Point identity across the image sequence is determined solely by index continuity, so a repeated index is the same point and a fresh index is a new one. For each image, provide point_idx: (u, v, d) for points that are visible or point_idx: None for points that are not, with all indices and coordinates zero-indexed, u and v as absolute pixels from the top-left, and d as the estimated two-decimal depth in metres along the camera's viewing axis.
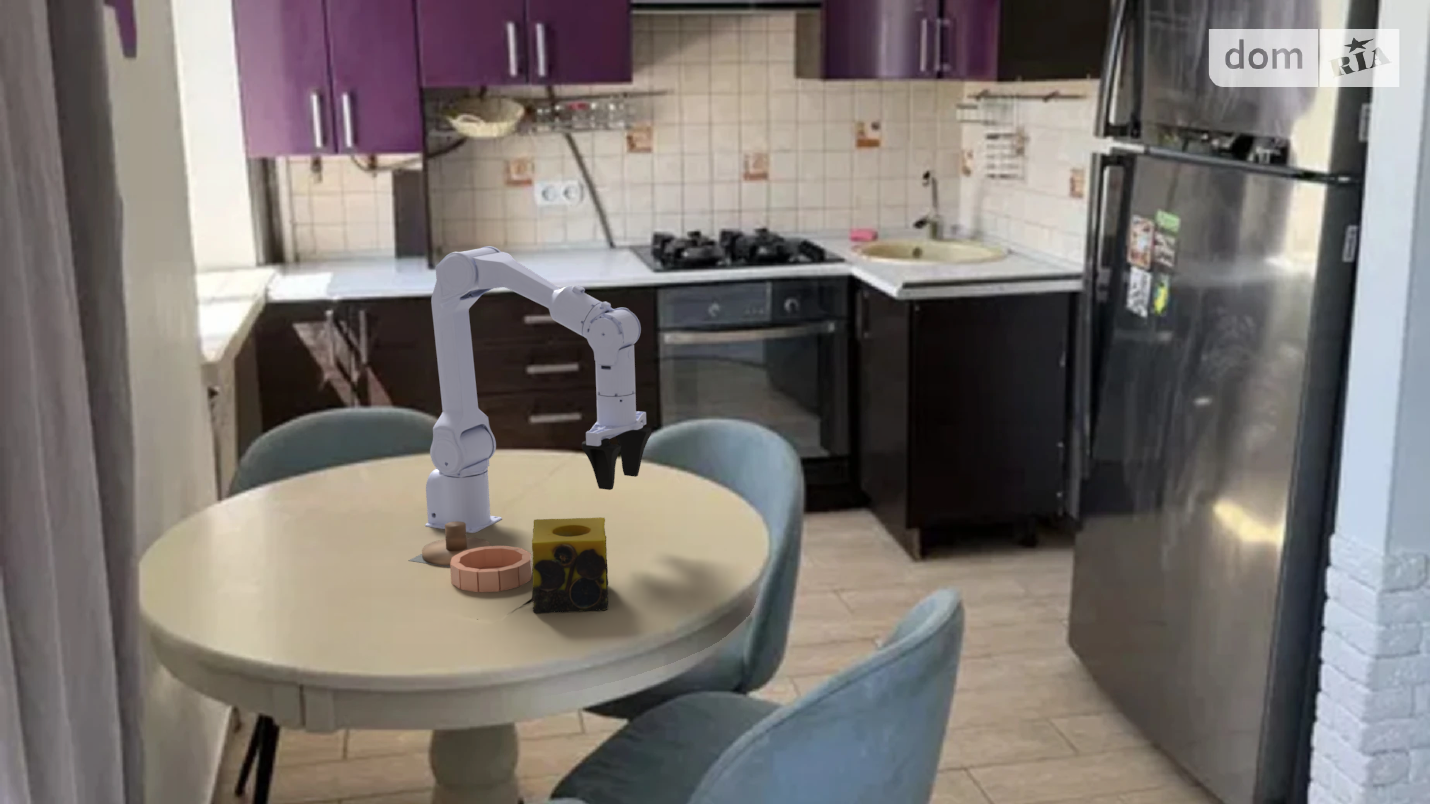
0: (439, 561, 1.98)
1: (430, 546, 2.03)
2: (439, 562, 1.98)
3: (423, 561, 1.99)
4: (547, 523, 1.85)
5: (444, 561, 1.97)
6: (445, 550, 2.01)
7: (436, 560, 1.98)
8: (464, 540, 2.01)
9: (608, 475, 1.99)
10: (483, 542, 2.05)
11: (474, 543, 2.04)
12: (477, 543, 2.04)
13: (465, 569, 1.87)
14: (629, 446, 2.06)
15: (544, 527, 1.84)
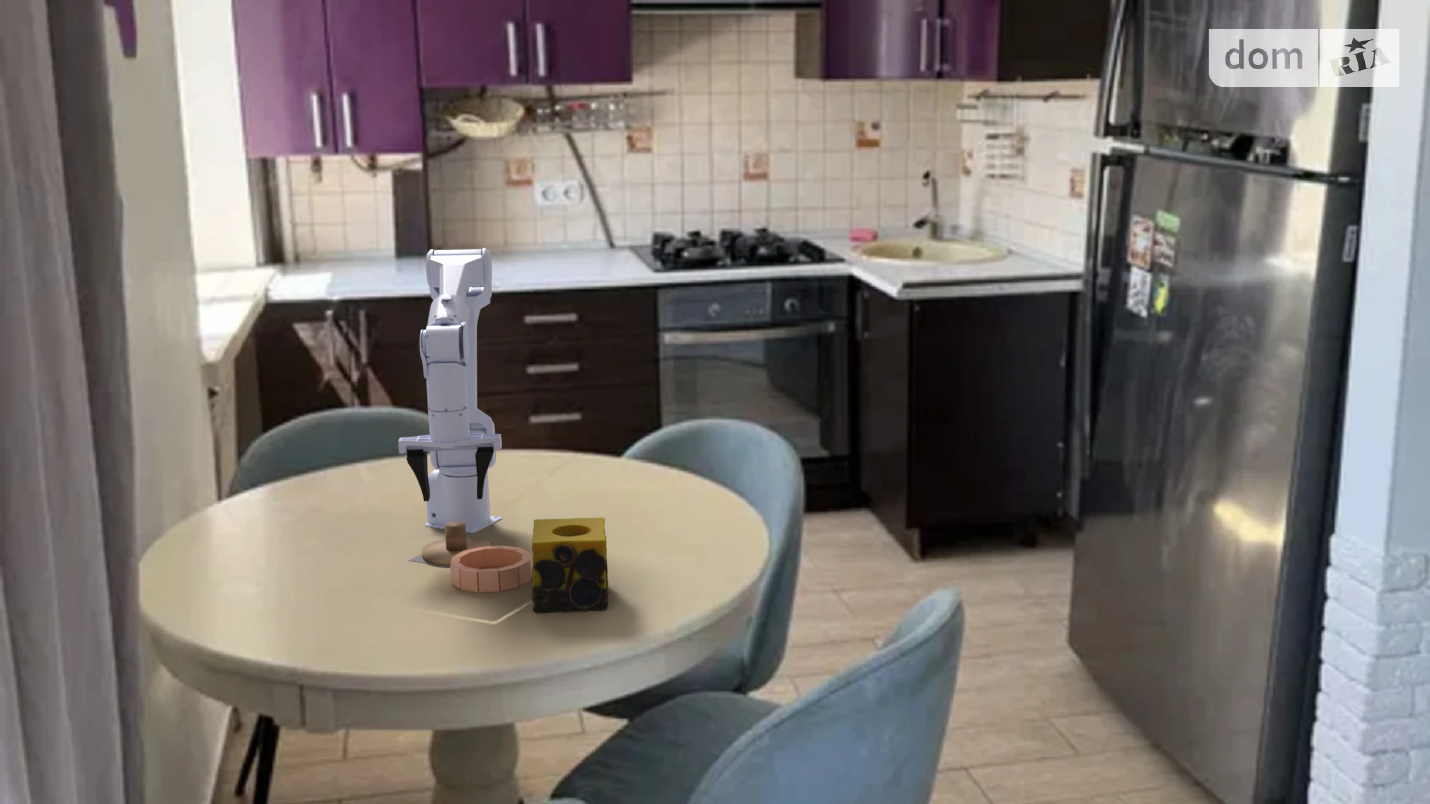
0: (439, 561, 1.98)
1: (430, 546, 2.03)
2: (439, 562, 1.98)
3: (423, 561, 1.99)
4: (547, 523, 1.85)
5: (444, 561, 1.97)
6: (445, 550, 2.01)
7: (436, 560, 1.98)
8: (464, 540, 2.01)
9: None
10: (483, 542, 2.05)
11: (474, 543, 2.04)
12: (477, 543, 2.04)
13: (465, 569, 1.87)
14: None
15: (544, 527, 1.84)
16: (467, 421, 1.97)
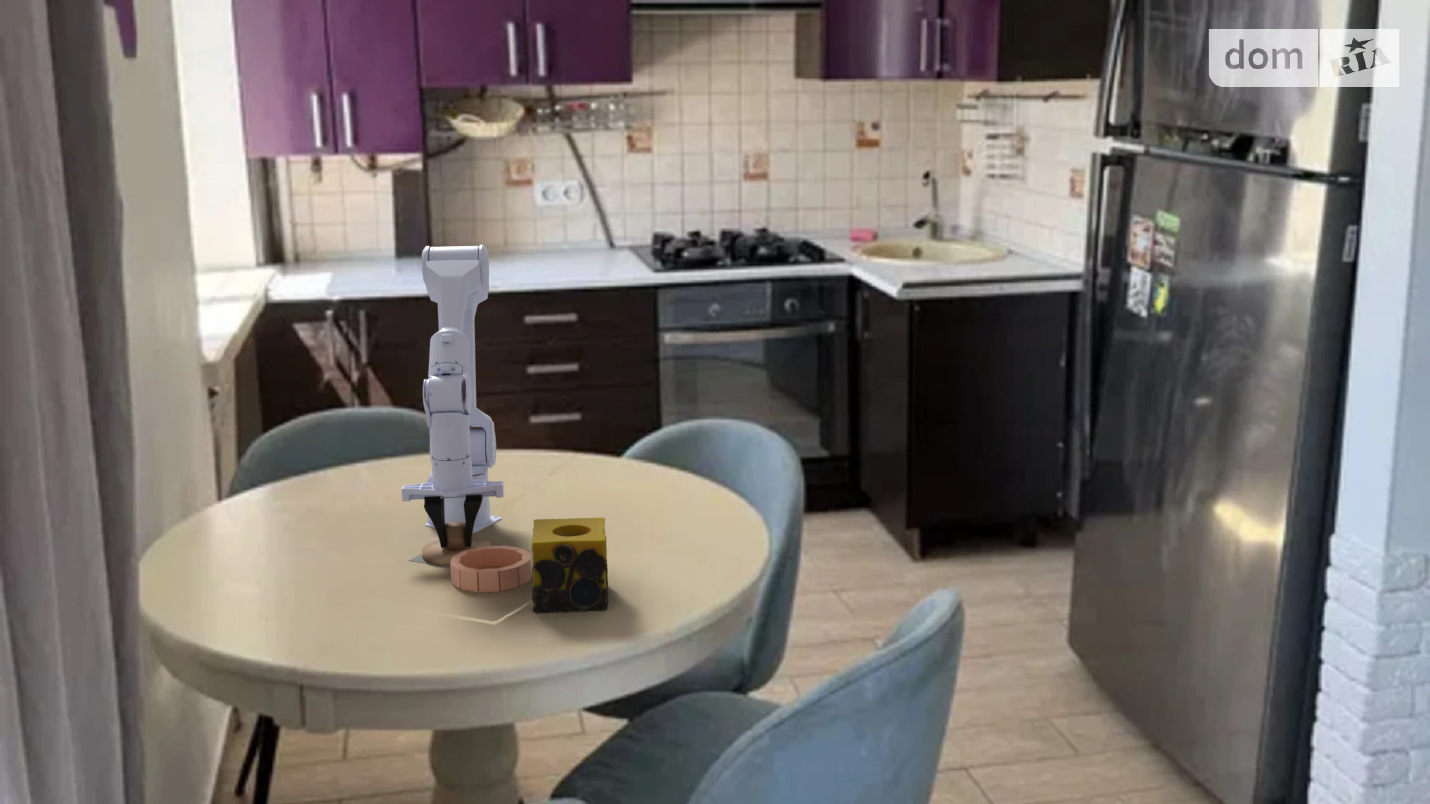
0: (439, 561, 1.98)
1: (430, 546, 2.03)
2: (439, 562, 1.98)
3: (423, 561, 1.99)
4: (547, 523, 1.85)
5: (444, 561, 1.97)
6: (445, 550, 2.01)
7: (436, 560, 1.98)
8: (464, 540, 2.01)
9: None
10: (483, 541, 2.05)
11: (474, 543, 2.04)
12: (477, 543, 2.04)
13: (465, 569, 1.87)
14: None
15: (544, 527, 1.84)
16: (470, 469, 1.99)
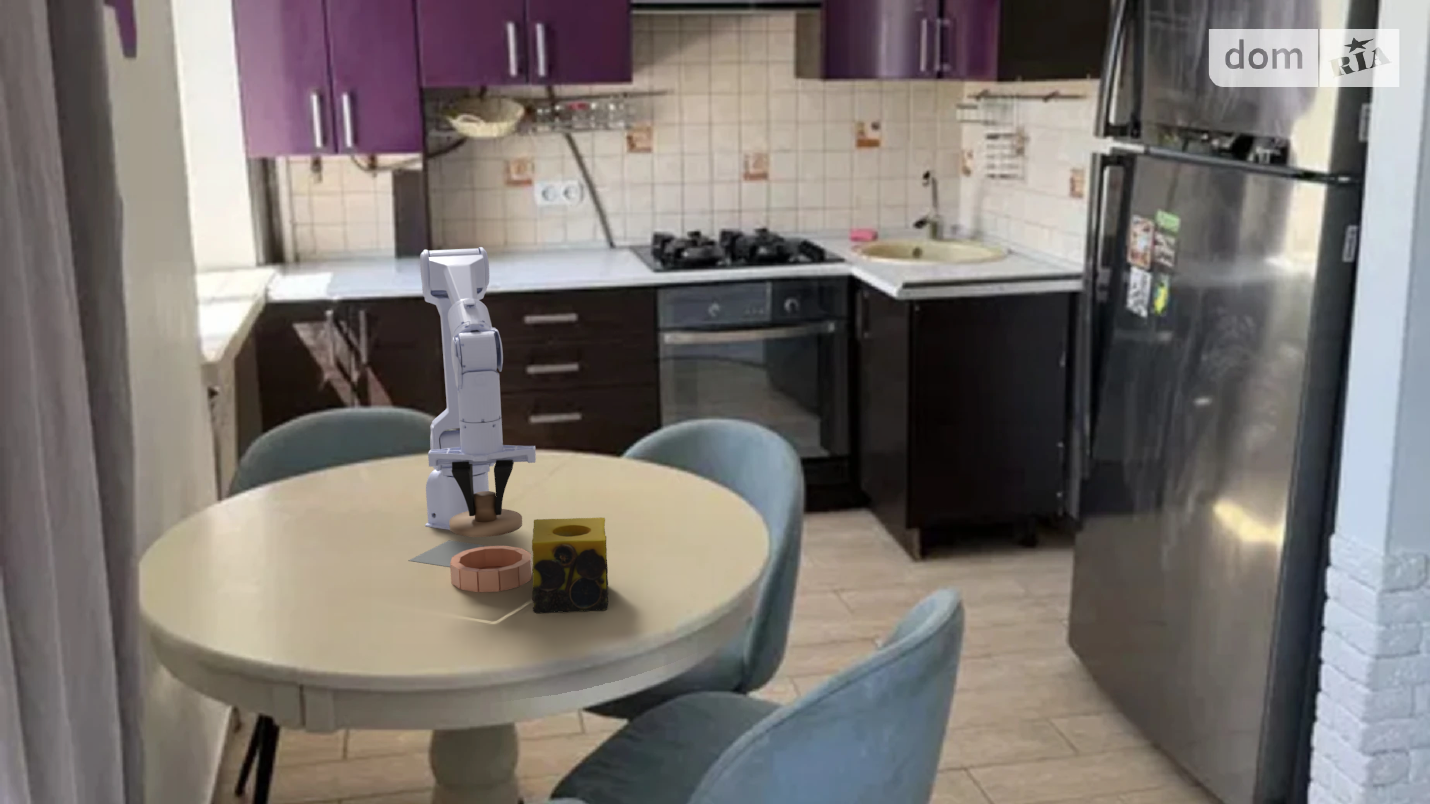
0: (470, 532, 1.87)
1: (457, 517, 1.92)
2: (470, 533, 1.87)
3: (423, 561, 1.99)
4: (547, 523, 1.85)
5: (475, 532, 1.86)
6: (474, 521, 1.90)
7: (466, 531, 1.87)
8: (494, 510, 1.90)
9: None
10: (512, 512, 1.94)
11: (504, 514, 1.93)
12: (507, 514, 1.93)
13: (465, 569, 1.87)
14: None
15: (544, 527, 1.84)
16: (500, 432, 1.88)
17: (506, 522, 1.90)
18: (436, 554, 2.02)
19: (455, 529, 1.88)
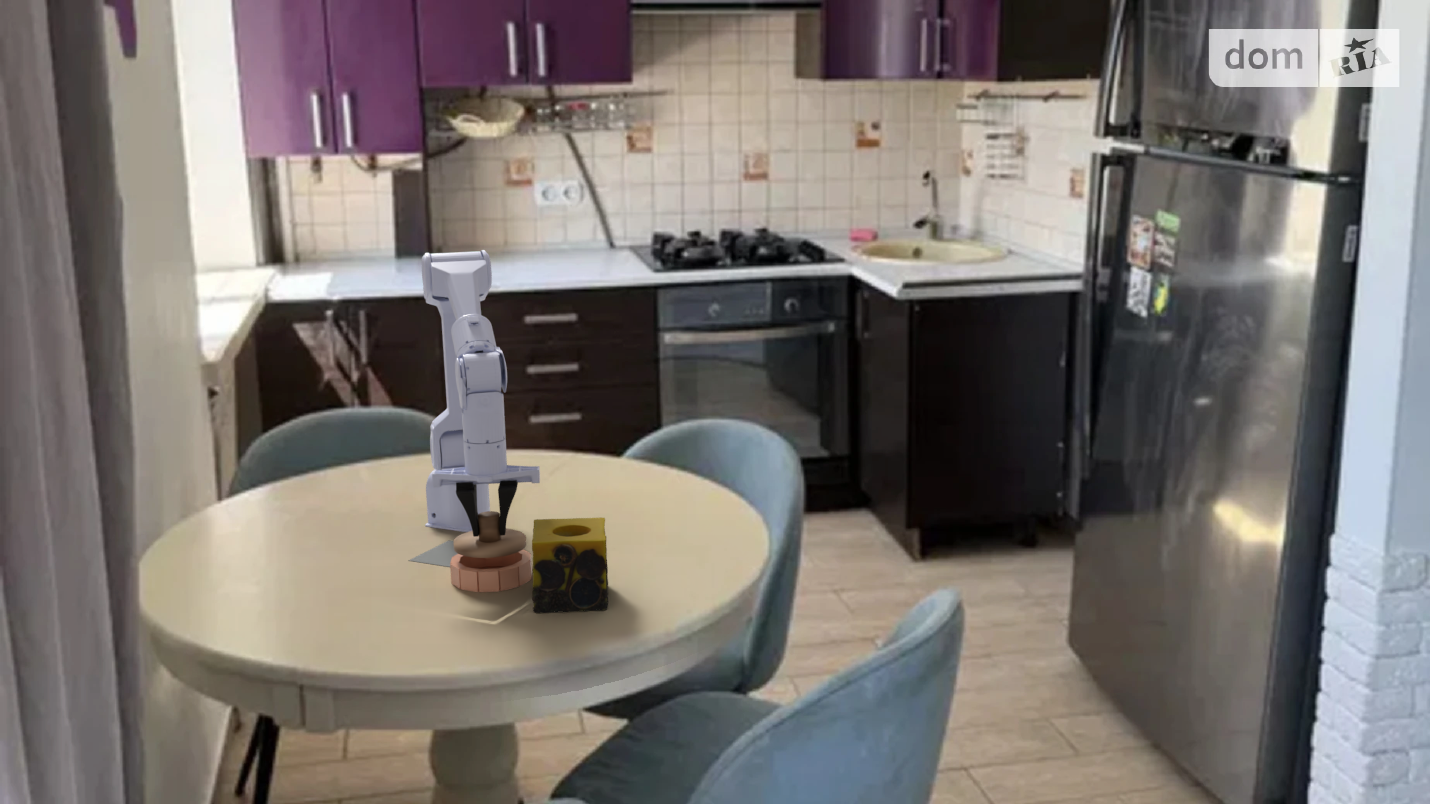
0: (474, 553, 1.86)
1: (461, 537, 1.92)
2: (474, 554, 1.87)
3: (423, 561, 1.99)
4: (547, 523, 1.85)
5: (480, 553, 1.86)
6: (478, 542, 1.90)
7: (470, 552, 1.87)
8: (498, 531, 1.90)
9: None
10: (516, 532, 1.94)
11: (508, 534, 1.93)
12: (511, 534, 1.93)
13: (465, 569, 1.87)
14: None
15: (544, 527, 1.84)
16: (504, 453, 1.88)
17: (511, 543, 1.89)
18: (436, 554, 2.02)
19: (459, 550, 1.88)
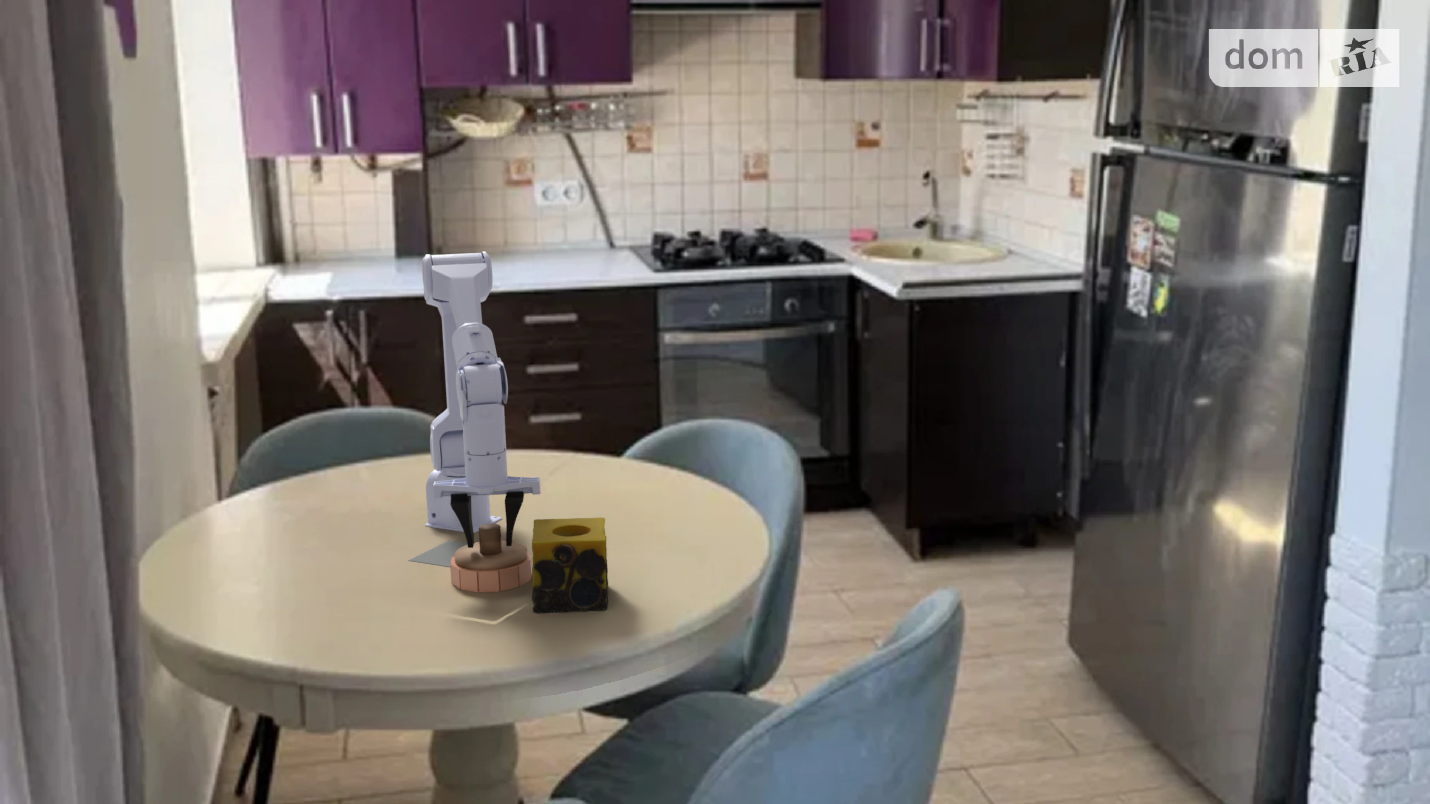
0: (475, 566, 1.87)
1: (462, 550, 1.92)
2: (475, 567, 1.87)
3: (423, 561, 1.99)
4: (547, 523, 1.85)
5: (480, 566, 1.87)
6: (479, 554, 1.90)
7: (471, 565, 1.87)
8: (499, 543, 1.91)
9: None
10: (517, 544, 1.94)
11: (508, 547, 1.93)
12: (511, 546, 1.94)
13: (465, 569, 1.87)
14: None
15: (544, 527, 1.84)
16: (505, 464, 1.88)
17: (511, 555, 1.90)
18: (436, 554, 2.02)
19: (460, 562, 1.88)
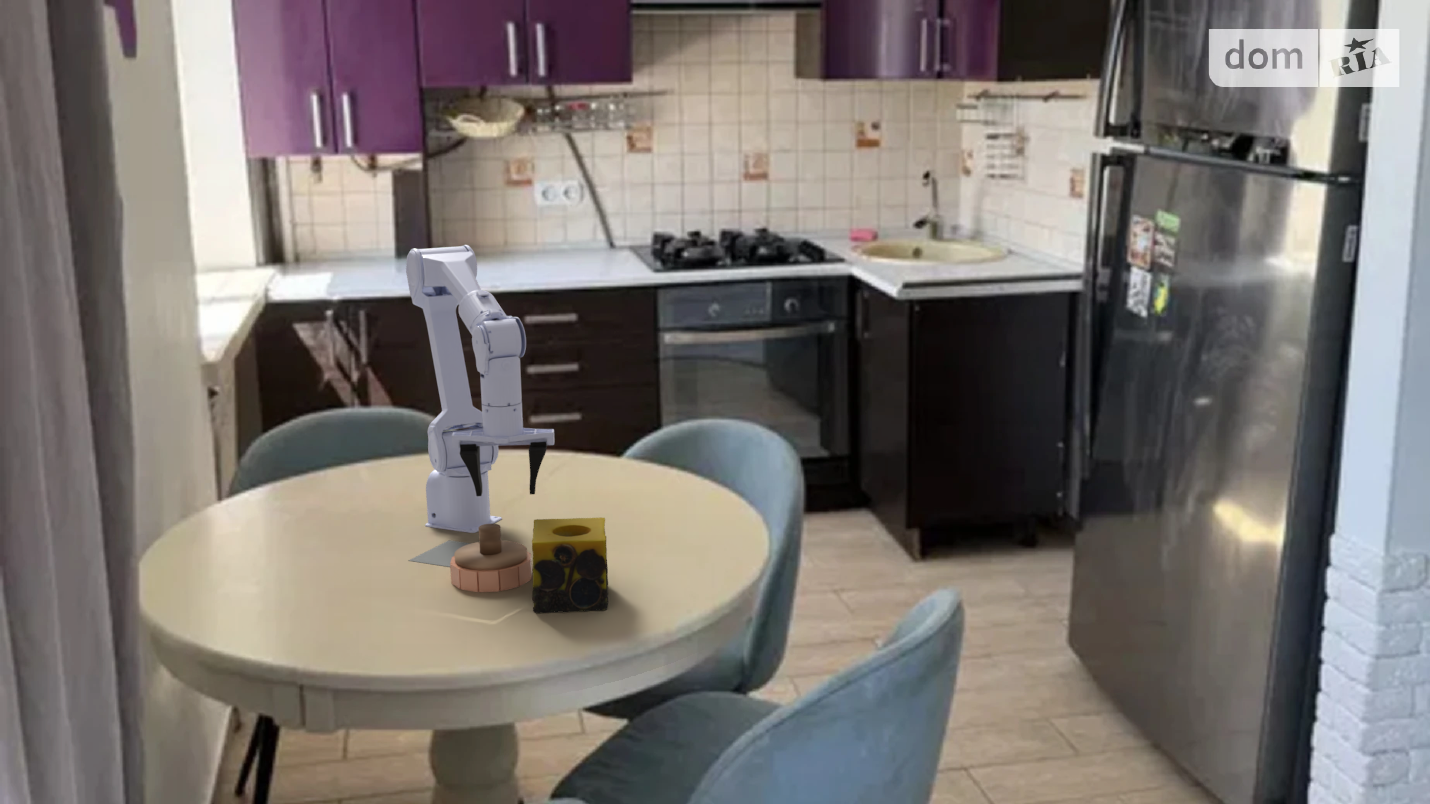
0: (475, 566, 1.87)
1: (462, 550, 1.92)
2: (475, 567, 1.87)
3: (423, 561, 1.99)
4: (547, 523, 1.85)
5: (480, 566, 1.87)
6: (479, 554, 1.90)
7: (471, 565, 1.87)
8: (499, 543, 1.91)
9: None
10: (517, 544, 1.94)
11: (508, 547, 1.93)
12: (511, 546, 1.94)
13: (465, 569, 1.87)
14: None
15: (544, 527, 1.84)
16: (520, 416, 1.97)
17: (511, 555, 1.90)
18: (436, 554, 2.02)
19: (460, 562, 1.88)
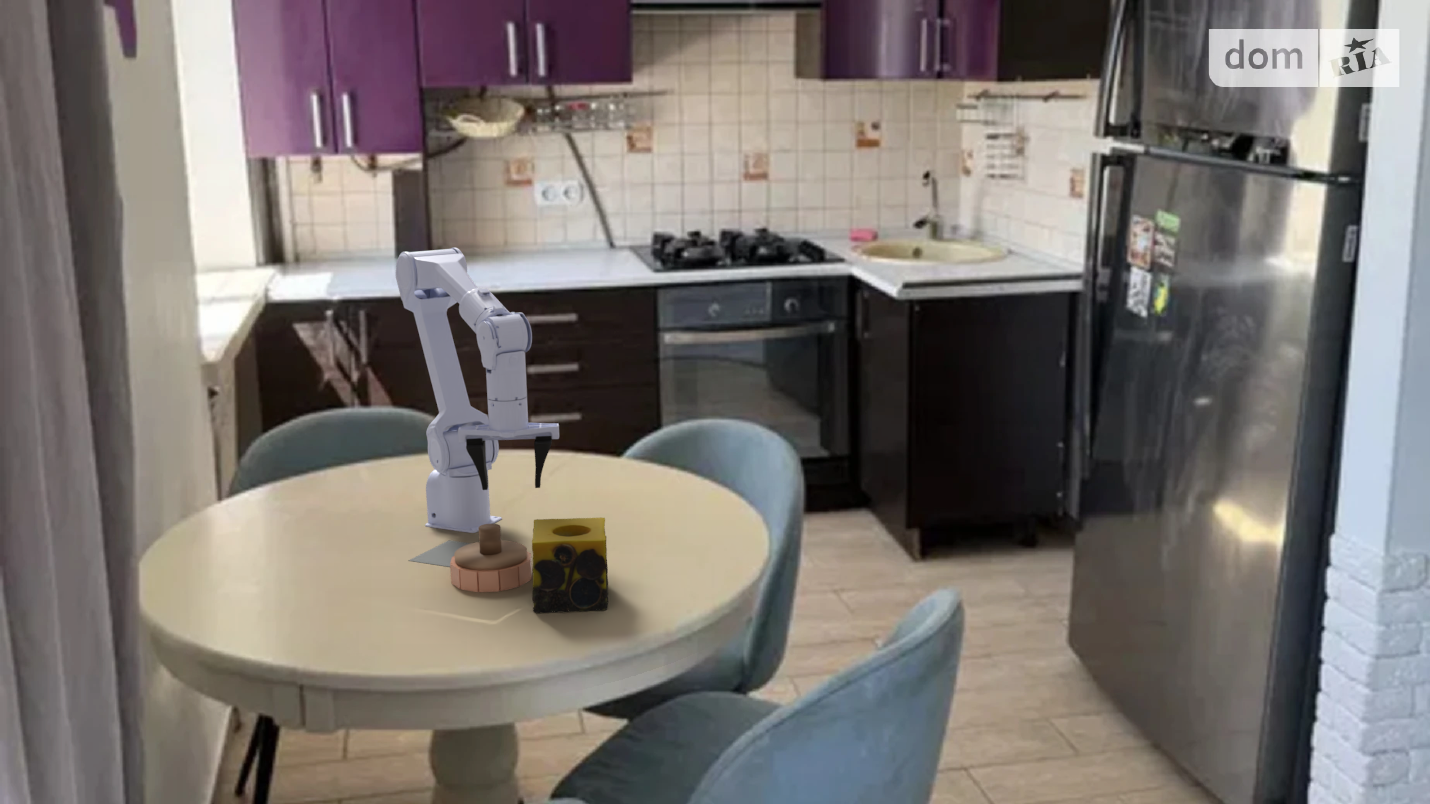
0: (475, 566, 1.87)
1: (462, 550, 1.92)
2: (475, 567, 1.87)
3: (423, 561, 1.99)
4: (547, 523, 1.85)
5: (480, 566, 1.87)
6: (479, 554, 1.90)
7: (471, 565, 1.87)
8: (499, 543, 1.91)
9: None
10: (517, 544, 1.94)
11: (508, 547, 1.93)
12: (511, 546, 1.94)
13: (465, 569, 1.87)
14: None
15: (544, 527, 1.84)
16: (526, 410, 1.99)
17: (511, 555, 1.90)
18: (436, 554, 2.02)
19: (460, 562, 1.88)
